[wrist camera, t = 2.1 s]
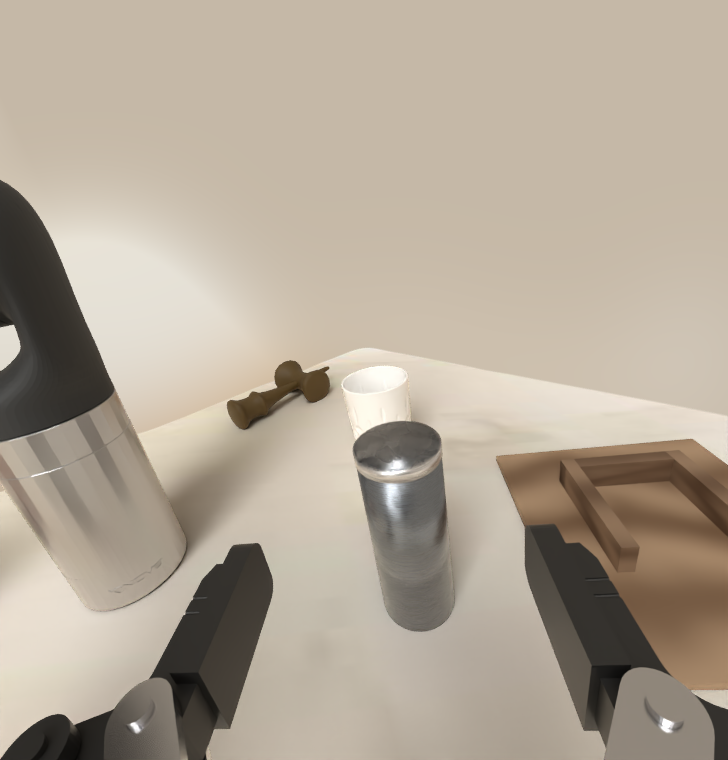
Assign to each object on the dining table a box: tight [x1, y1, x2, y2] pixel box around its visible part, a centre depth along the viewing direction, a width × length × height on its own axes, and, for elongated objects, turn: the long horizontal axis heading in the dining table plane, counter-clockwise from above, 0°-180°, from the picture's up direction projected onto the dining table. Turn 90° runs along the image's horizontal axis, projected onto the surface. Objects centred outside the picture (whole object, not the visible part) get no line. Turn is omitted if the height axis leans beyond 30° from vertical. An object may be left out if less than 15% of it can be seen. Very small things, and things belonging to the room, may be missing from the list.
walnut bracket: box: [496, 439, 728, 690], centre depth 29 cm, size 22×20×3 cm
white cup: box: [341, 366, 411, 440], centre depth 45 cm, size 8×8×10 cm
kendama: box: [227, 360, 330, 429], centre depth 63 cm, size 6×10×20 cm
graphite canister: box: [353, 421, 455, 631], centre depth 26 cm, size 6×6×14 cm
